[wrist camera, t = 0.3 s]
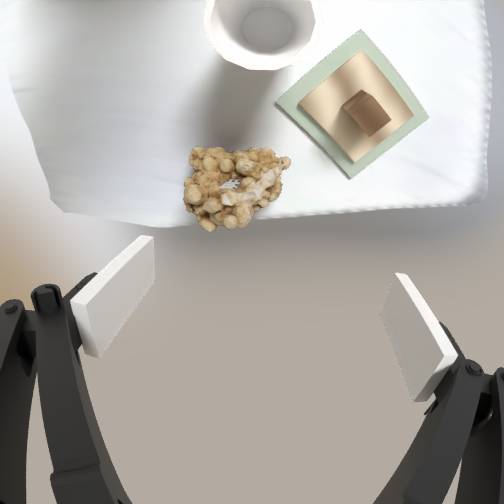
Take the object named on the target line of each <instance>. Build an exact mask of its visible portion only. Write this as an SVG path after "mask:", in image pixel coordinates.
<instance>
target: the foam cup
mask: <svg viewBox="0 0 504 504" xmlns="http://www.w3.org/2000/svg"><path fill="white" fill-rule="evenodd" d="M203 24H204V27H205V31H206V34H207V38H208V41H209V43H210V44H211V45H212V46H213V47H214V48H215V49H216V50H217V51H218V53H219V54H220V55H221V56H222V57H223V58H224V59H225V60H227V61H230V62H232V63H234V64H237V65H239V66H242V67H244V68H246V69H249V70H277V69H280V68H282V67H285V66H288V65H291V64H293V63H296V62H299V61H300V60H301V59H302V58H303V57H304V56H305V55H306V54H307V53H308V52H309V51H310V50H311V49H312V48H313V47H314V46H315V45H317V41H318V38H319V35H320V32H321V29H322V25H323V19H322V15H321V10H320V6H319V2H318V0H208V1H207V5H206V9H205V13H204V17H203Z"/></svg>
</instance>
